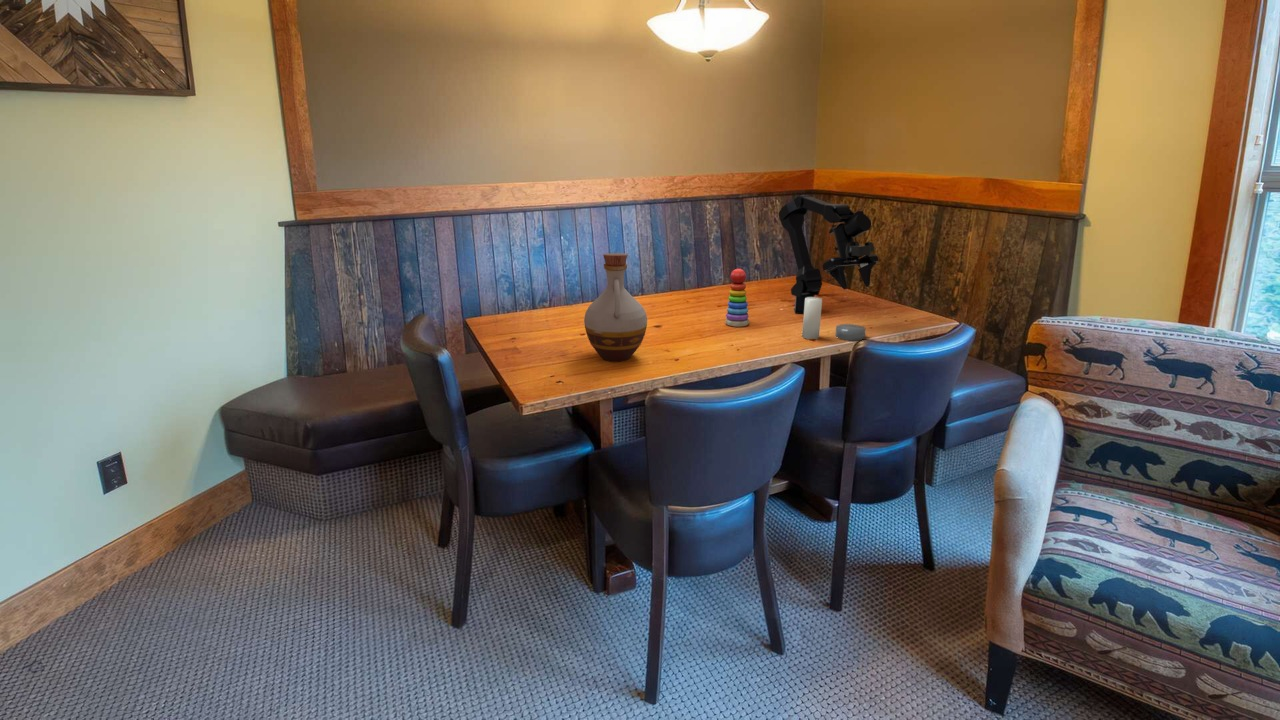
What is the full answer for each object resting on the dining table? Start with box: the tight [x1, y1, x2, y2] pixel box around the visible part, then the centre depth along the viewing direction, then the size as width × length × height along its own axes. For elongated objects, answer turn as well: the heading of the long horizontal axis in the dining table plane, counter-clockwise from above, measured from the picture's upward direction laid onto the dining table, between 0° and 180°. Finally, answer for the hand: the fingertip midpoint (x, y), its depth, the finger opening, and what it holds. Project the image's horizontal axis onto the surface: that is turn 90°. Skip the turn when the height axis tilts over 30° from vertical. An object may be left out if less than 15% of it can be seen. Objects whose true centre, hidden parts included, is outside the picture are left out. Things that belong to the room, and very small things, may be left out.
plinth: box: [835, 323, 866, 342], centre depth 229 cm, size 9×9×3 cm
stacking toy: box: [724, 268, 750, 328], centre depth 240 cm, size 8×8×19 cm
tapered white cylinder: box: [801, 296, 823, 340], centre depth 226 cm, size 5×5×12 cm
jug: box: [583, 252, 648, 363], centre depth 202 cm, size 20×18×30 cm
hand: (856, 288), depth 233 cm, fingers open, 9 cm apart
